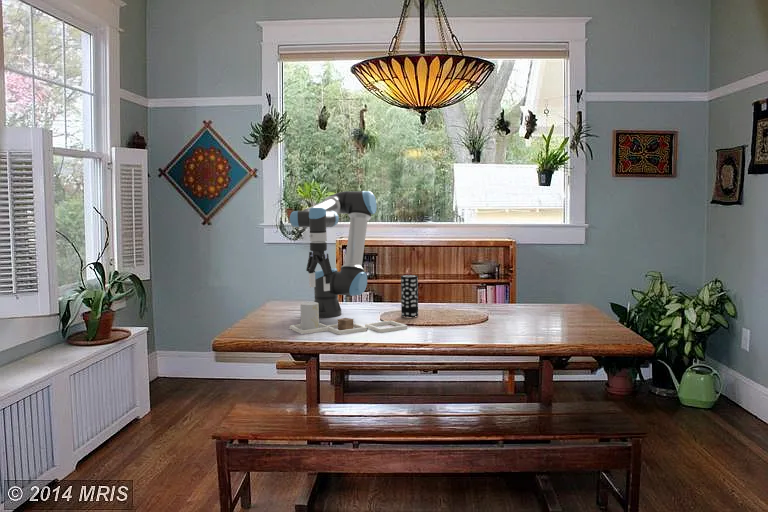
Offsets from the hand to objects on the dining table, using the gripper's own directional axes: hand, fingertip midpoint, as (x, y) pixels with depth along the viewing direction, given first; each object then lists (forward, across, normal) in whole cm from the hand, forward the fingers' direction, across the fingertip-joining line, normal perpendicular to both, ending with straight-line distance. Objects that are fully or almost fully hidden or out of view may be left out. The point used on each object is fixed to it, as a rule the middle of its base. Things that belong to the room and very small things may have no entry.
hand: (319, 289), depth 305 cm
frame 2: (+19, +8, +9) cm, 22 cm away
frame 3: (+19, +15, +25) cm, 35 cm away
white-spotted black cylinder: (+19, 0, +50) cm, 54 cm away
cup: (+19, -3, -4) cm, 19 cm away
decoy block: (+19, +8, +9) cm, 22 cm away
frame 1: (+18, -3, -4) cm, 19 cm away
